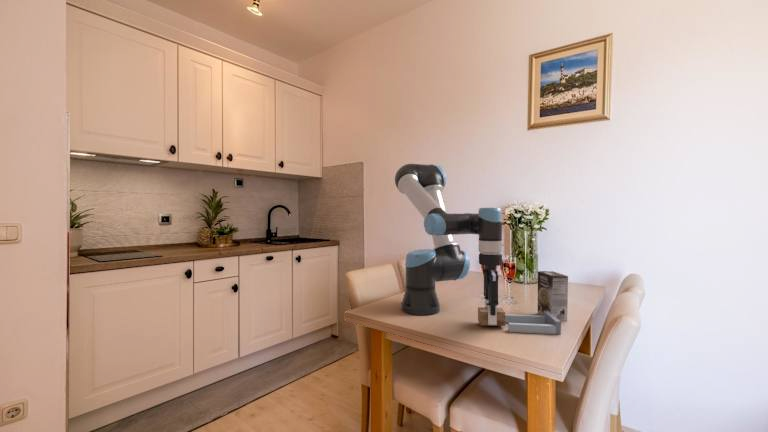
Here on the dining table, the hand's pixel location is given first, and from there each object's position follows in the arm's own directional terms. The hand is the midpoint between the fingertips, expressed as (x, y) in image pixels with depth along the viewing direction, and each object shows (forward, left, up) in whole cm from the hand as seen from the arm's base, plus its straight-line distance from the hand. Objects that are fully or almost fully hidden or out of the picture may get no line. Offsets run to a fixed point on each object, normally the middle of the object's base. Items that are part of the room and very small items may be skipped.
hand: (490, 321), depth 110 cm
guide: (+12, 0, -1) cm, 12 cm away
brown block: (0, 0, -1) cm, 1 cm away
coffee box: (+24, +12, -2) cm, 27 cm away
